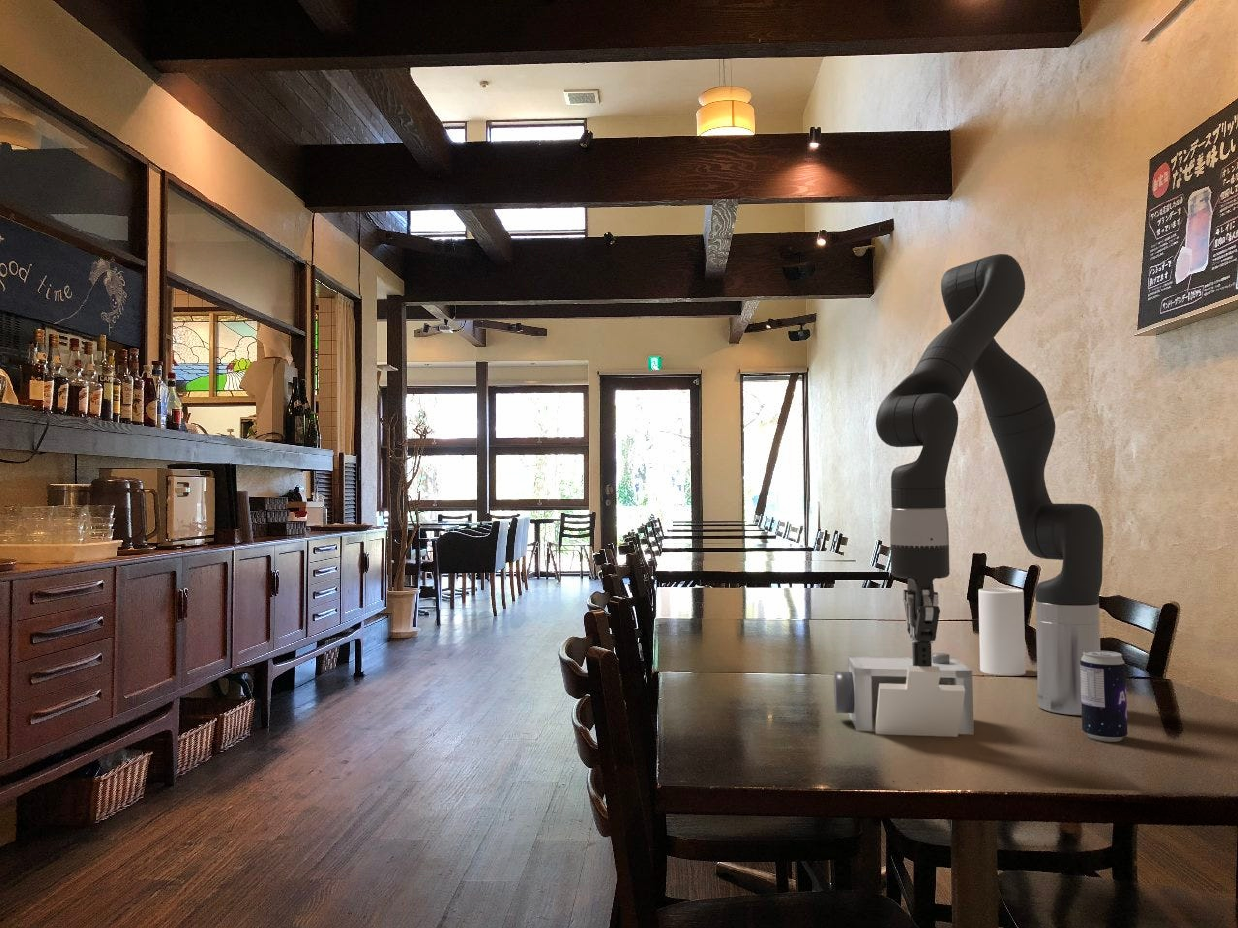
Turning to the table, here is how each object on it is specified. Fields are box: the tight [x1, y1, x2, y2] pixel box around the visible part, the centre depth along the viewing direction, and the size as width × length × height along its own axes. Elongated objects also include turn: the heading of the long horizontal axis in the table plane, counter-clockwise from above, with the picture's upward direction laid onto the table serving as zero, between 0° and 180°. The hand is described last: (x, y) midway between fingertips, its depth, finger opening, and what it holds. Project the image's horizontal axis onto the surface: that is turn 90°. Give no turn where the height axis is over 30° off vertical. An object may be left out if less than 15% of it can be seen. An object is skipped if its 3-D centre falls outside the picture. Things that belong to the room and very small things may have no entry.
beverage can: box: [1080, 649, 1129, 743], centre depth 125 cm, size 6×6×12 cm
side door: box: [874, 666, 965, 738], centre depth 120 cm, size 11×1×13 cm
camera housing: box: [833, 652, 974, 735], centre depth 130 cm, size 18×10×11 cm, turn 81°
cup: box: [977, 587, 1027, 677], centre depth 173 cm, size 8×8×16 cm
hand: (922, 670), depth 118 cm, fingers closed
